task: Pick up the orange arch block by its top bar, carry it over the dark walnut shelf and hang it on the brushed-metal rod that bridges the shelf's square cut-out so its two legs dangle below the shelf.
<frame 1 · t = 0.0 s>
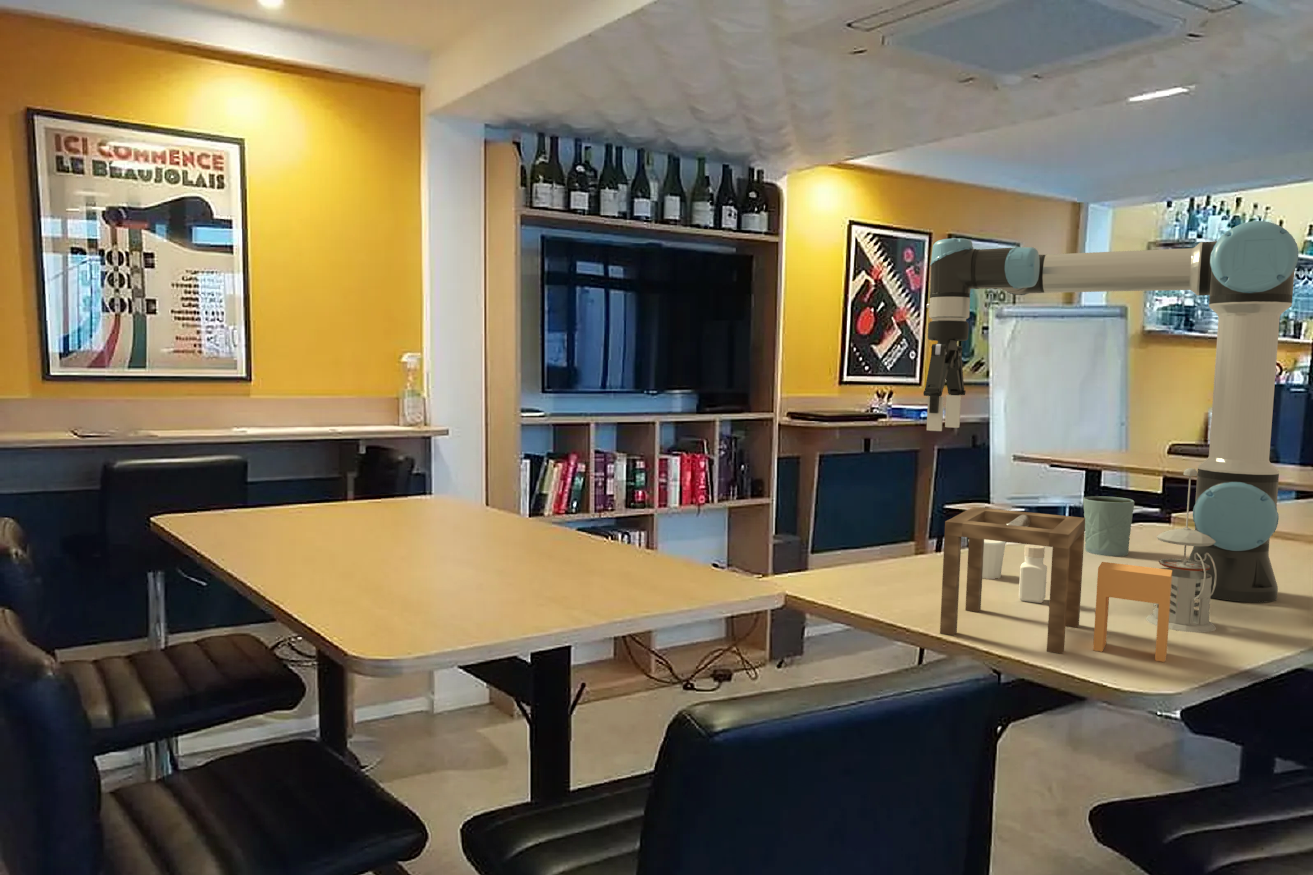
hand: (943, 429, 180), 28 cm above the table, fingers open, 13 cm apart
white pill bottle: (1031, 601, 159), on the table
orange arch block: (1129, 651, 131), on the table
green plant pot: (1105, 553, 204), on the table
white cup: (985, 576, 178), on the table
french press: (1183, 626, 145), on the table
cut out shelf: (1011, 628, 141), on the table
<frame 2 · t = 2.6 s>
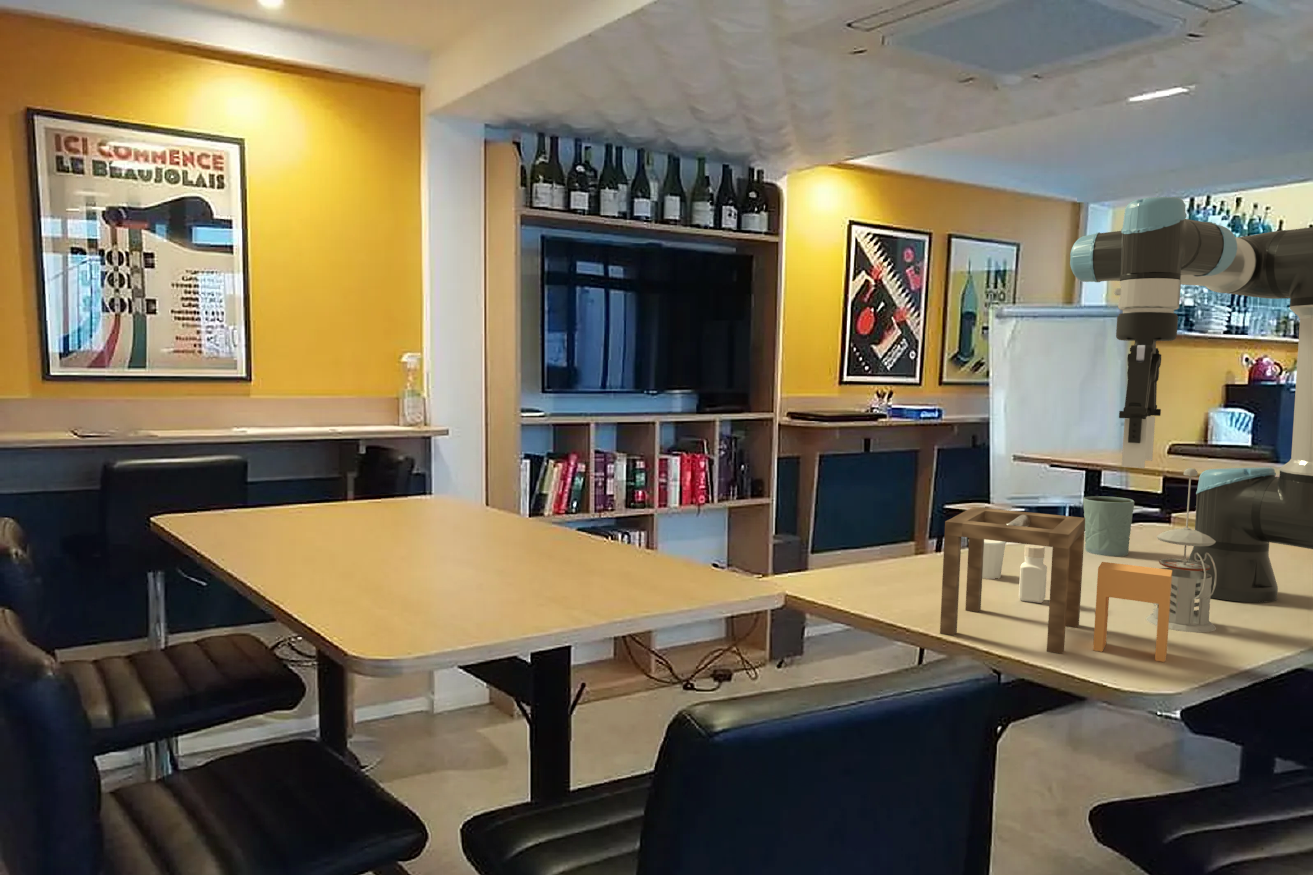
hand: (1137, 463, 129), 27 cm above the table, fingers open, 13 cm apart
nothing on the table moved.
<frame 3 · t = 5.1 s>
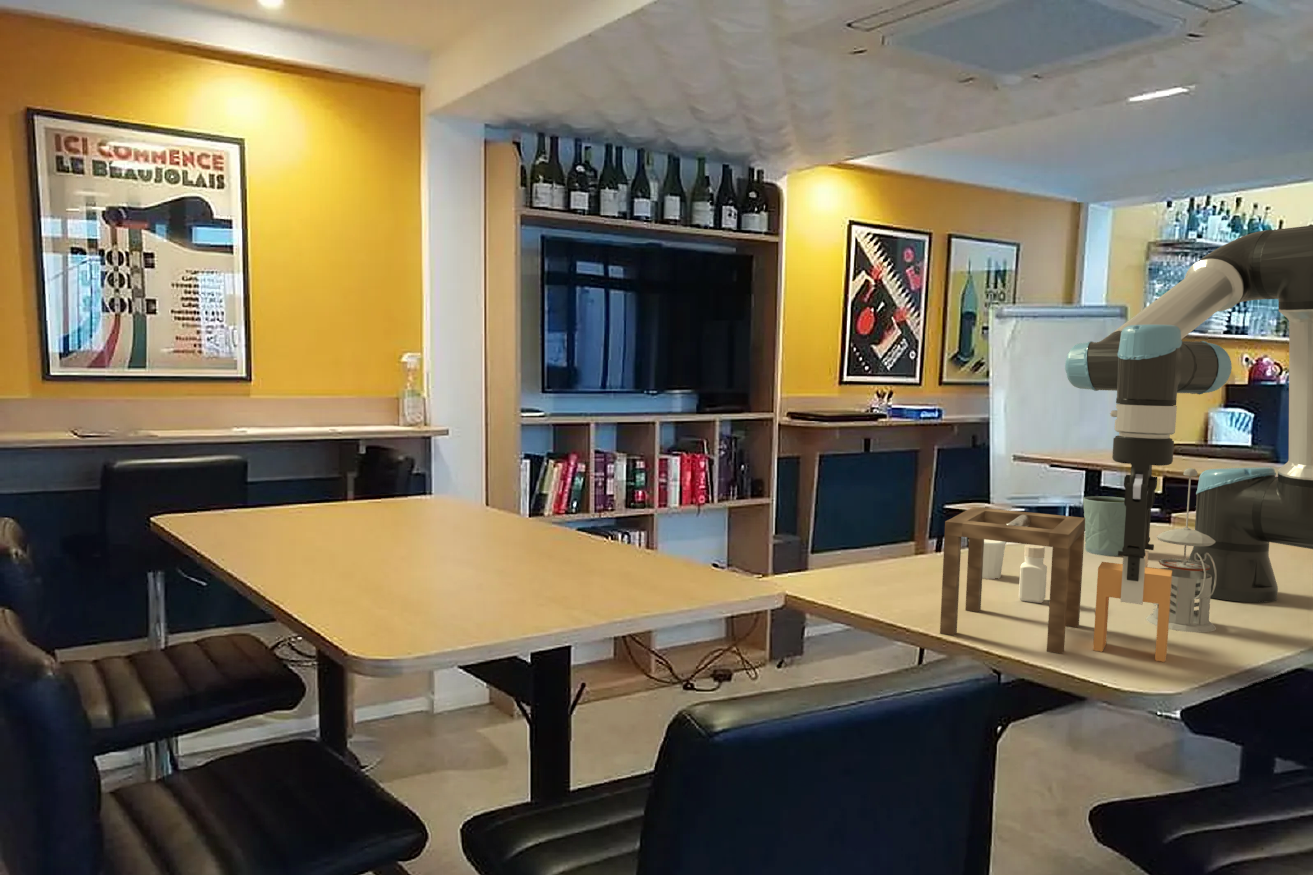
hand: (1133, 598, 130), 8 cm above the table, fingers closed on orange arch block, 5 cm apart
orange arch block: (1129, 651, 131), on the table, touching gripper
everything else where it was.
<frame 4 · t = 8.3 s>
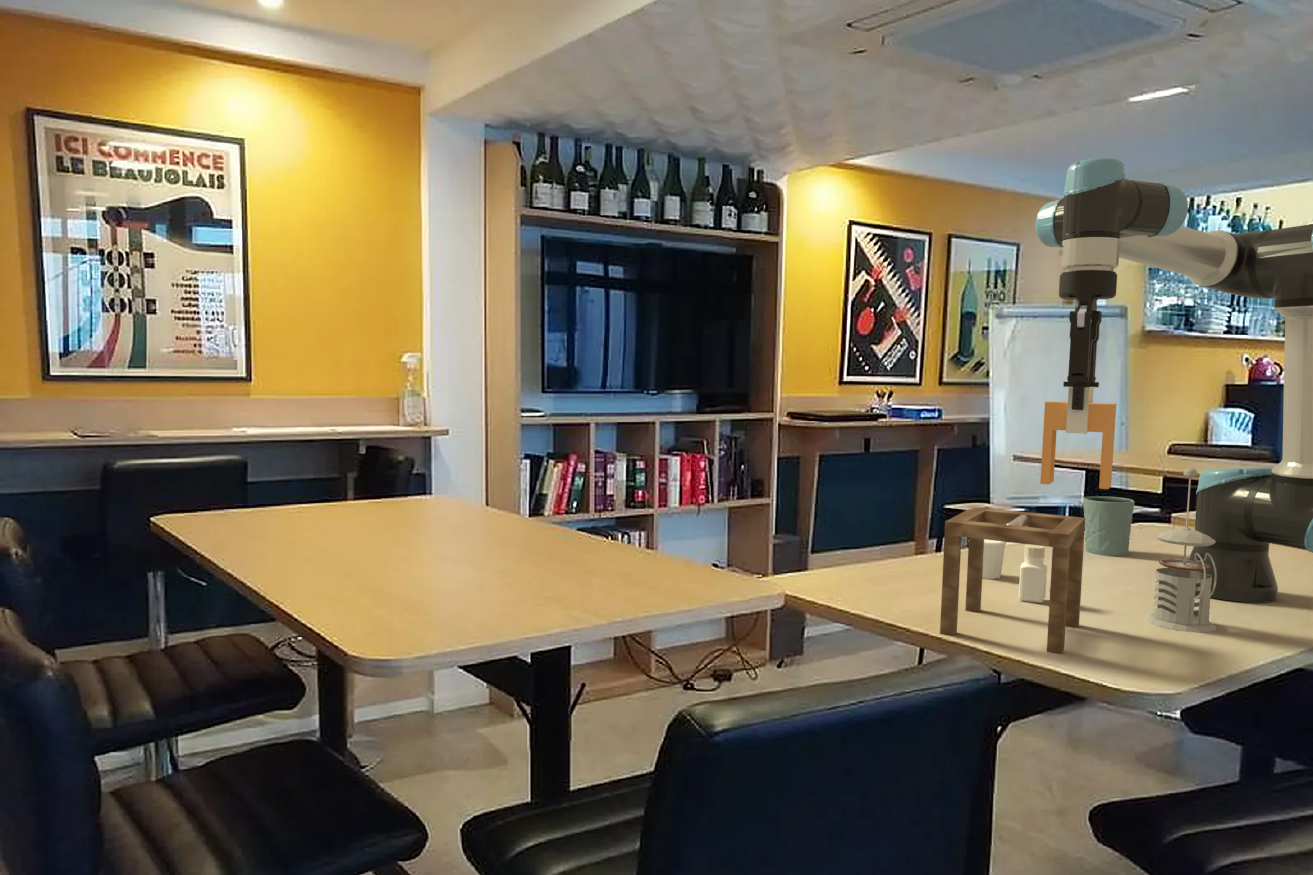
hand: (1078, 431, 133), 31 cm above the table, fingers closed on orange arch block, 5 cm apart
orange arch block: (1075, 484, 134), point 23 cm above the table, touching gripper
everything else where it was.
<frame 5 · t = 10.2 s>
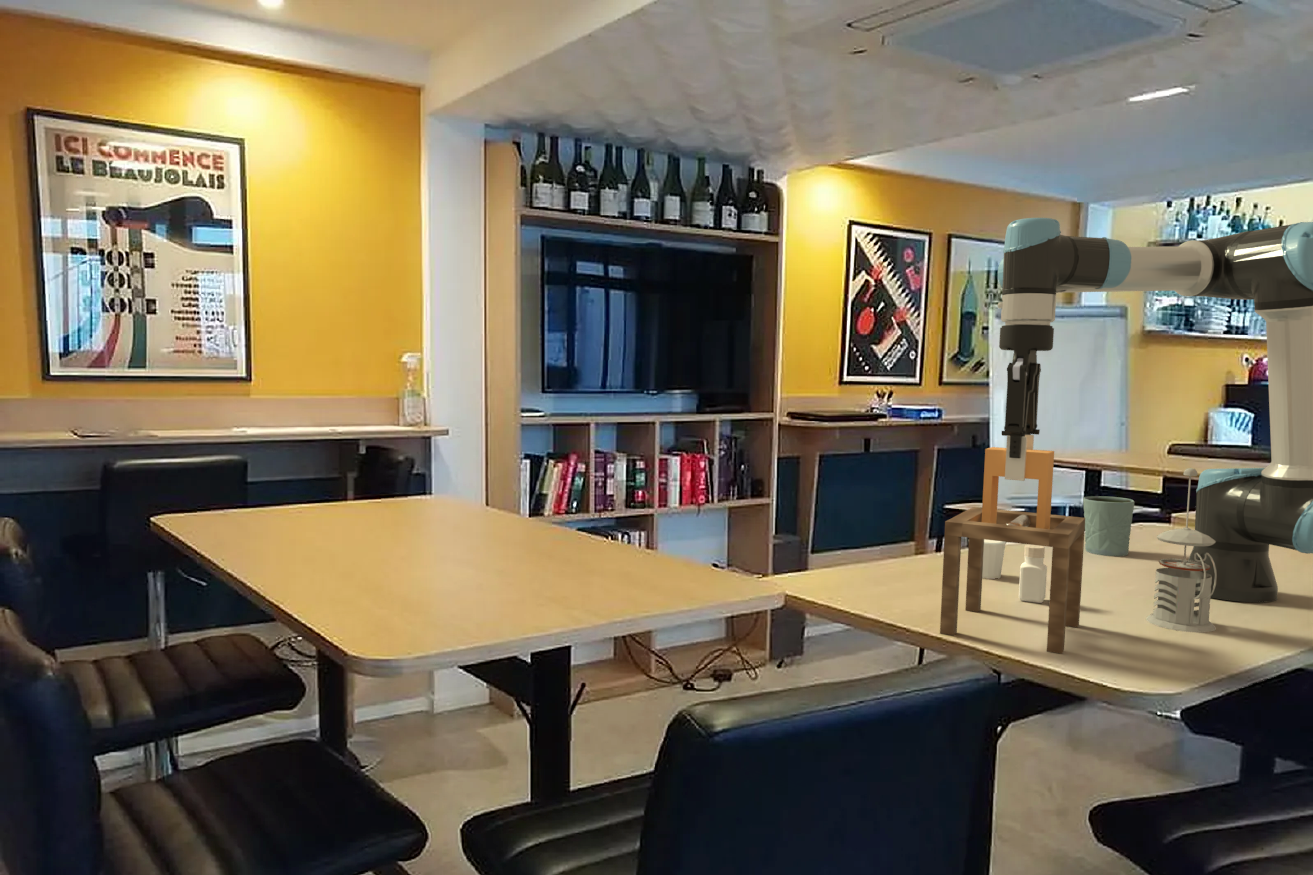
hand: (1018, 477, 139), 23 cm above the table, fingers closed on orange arch block, 5 cm apart
orange arch block: (1015, 528, 140), point 16 cm above the table, touching gripper
everything else where it was.
when the fingers open (18 cm above the table, at t = 11.8 s): orange arch block drops 1 cm, resting on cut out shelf.
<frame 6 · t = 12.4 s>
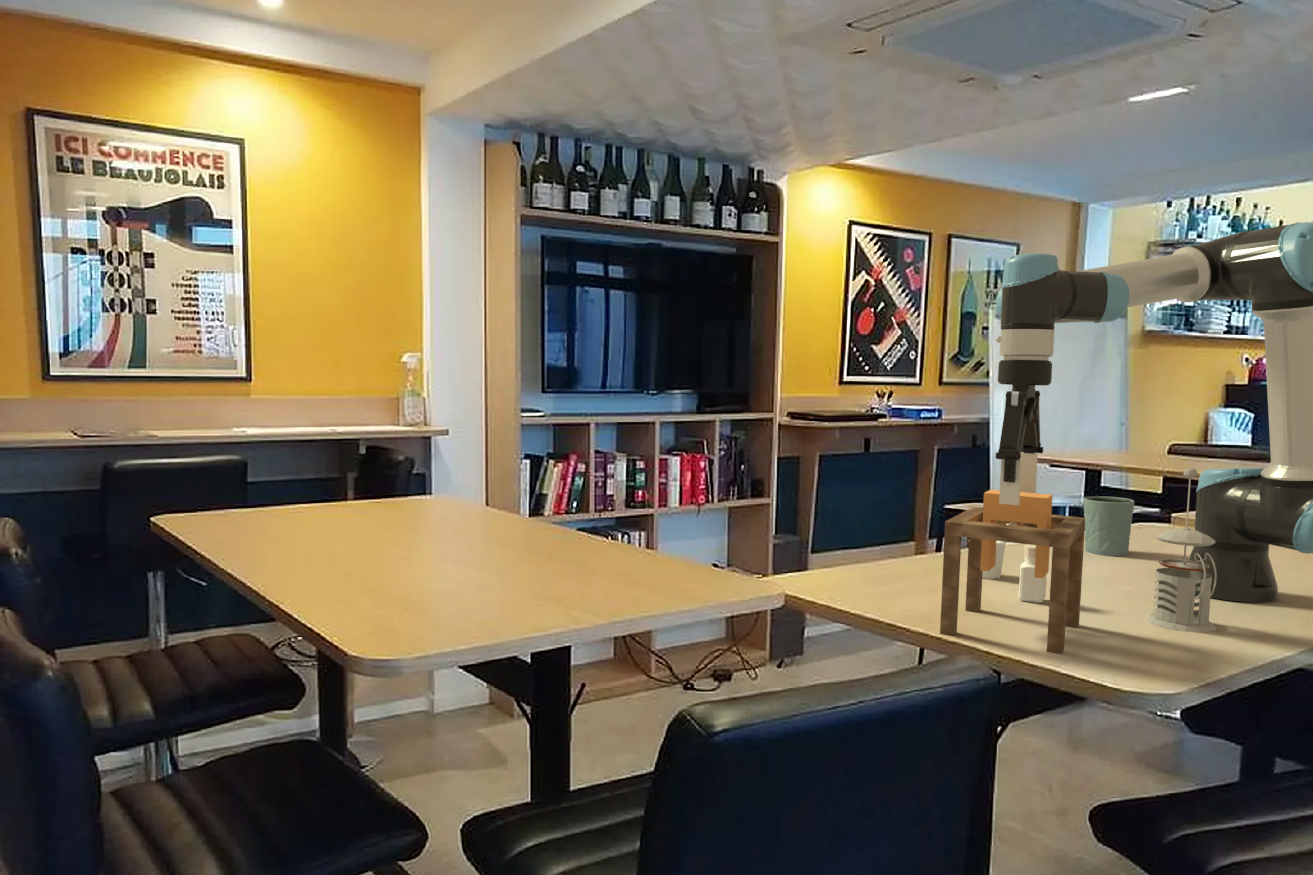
hand: (1017, 499, 139), 20 cm above the table, fingers open, 13 cm apart
orange arch block: (1014, 571, 140), point 9 cm above the table, touching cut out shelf
everything else where it was.
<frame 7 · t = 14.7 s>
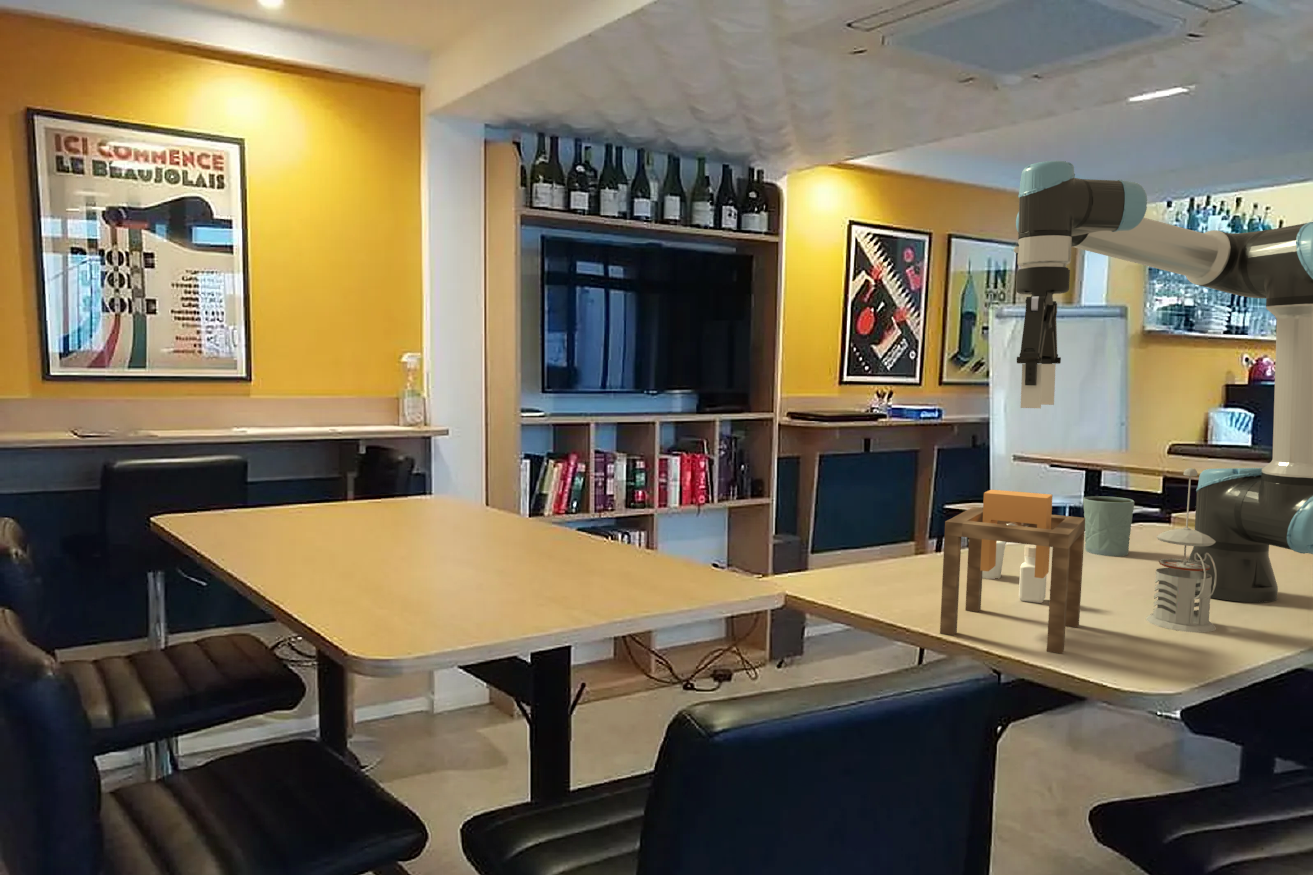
hand: (1037, 406, 141), 34 cm above the table, fingers open, 13 cm apart
nothing on the table moved.
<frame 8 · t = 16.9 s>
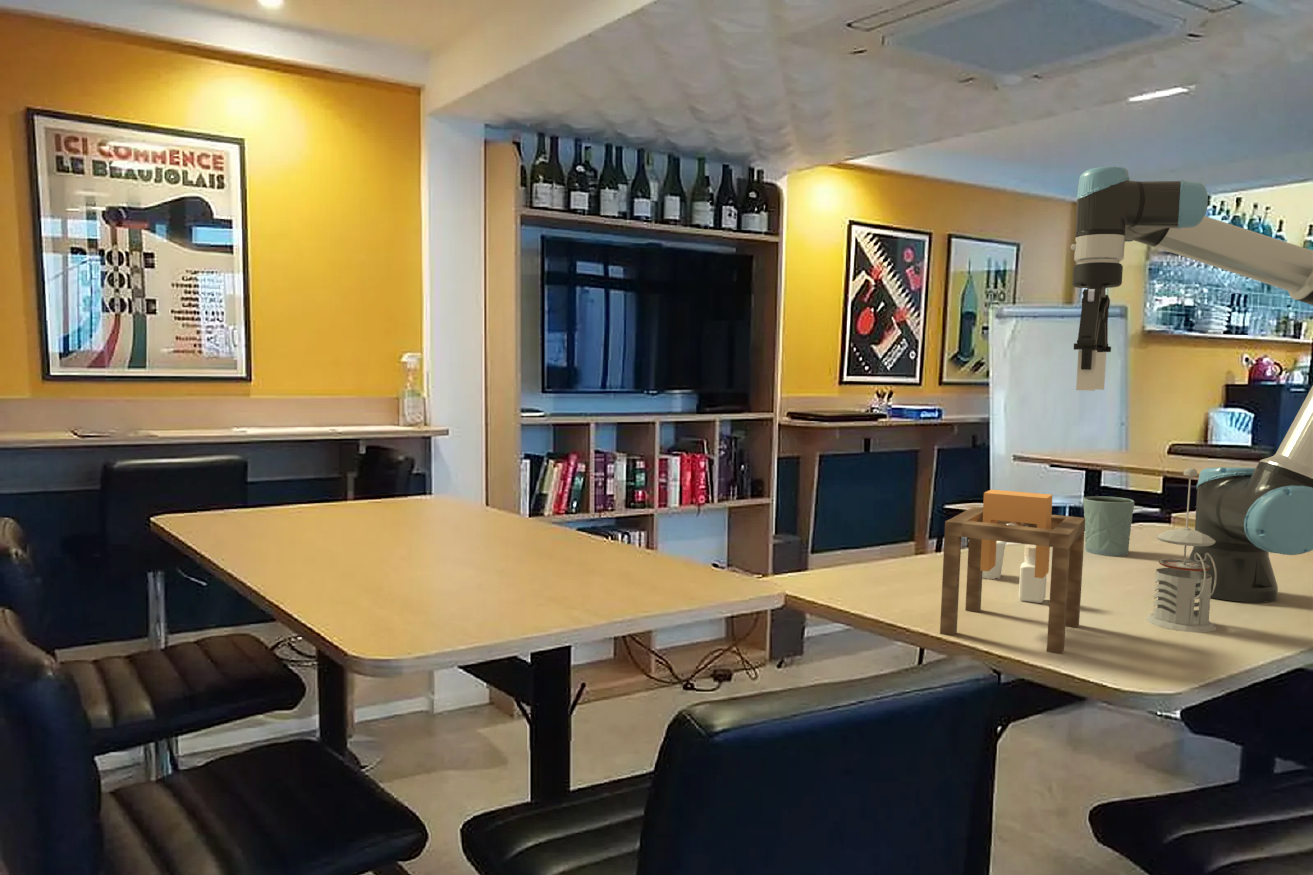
hand: (1090, 390, 155), 37 cm above the table, fingers open, 13 cm apart
nothing on the table moved.
at the end: orange arch block 0.0 cm off-centre on the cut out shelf, point 9.0 cm above the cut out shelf's base; orange arch block touching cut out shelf; the gripper is holding nothing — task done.
